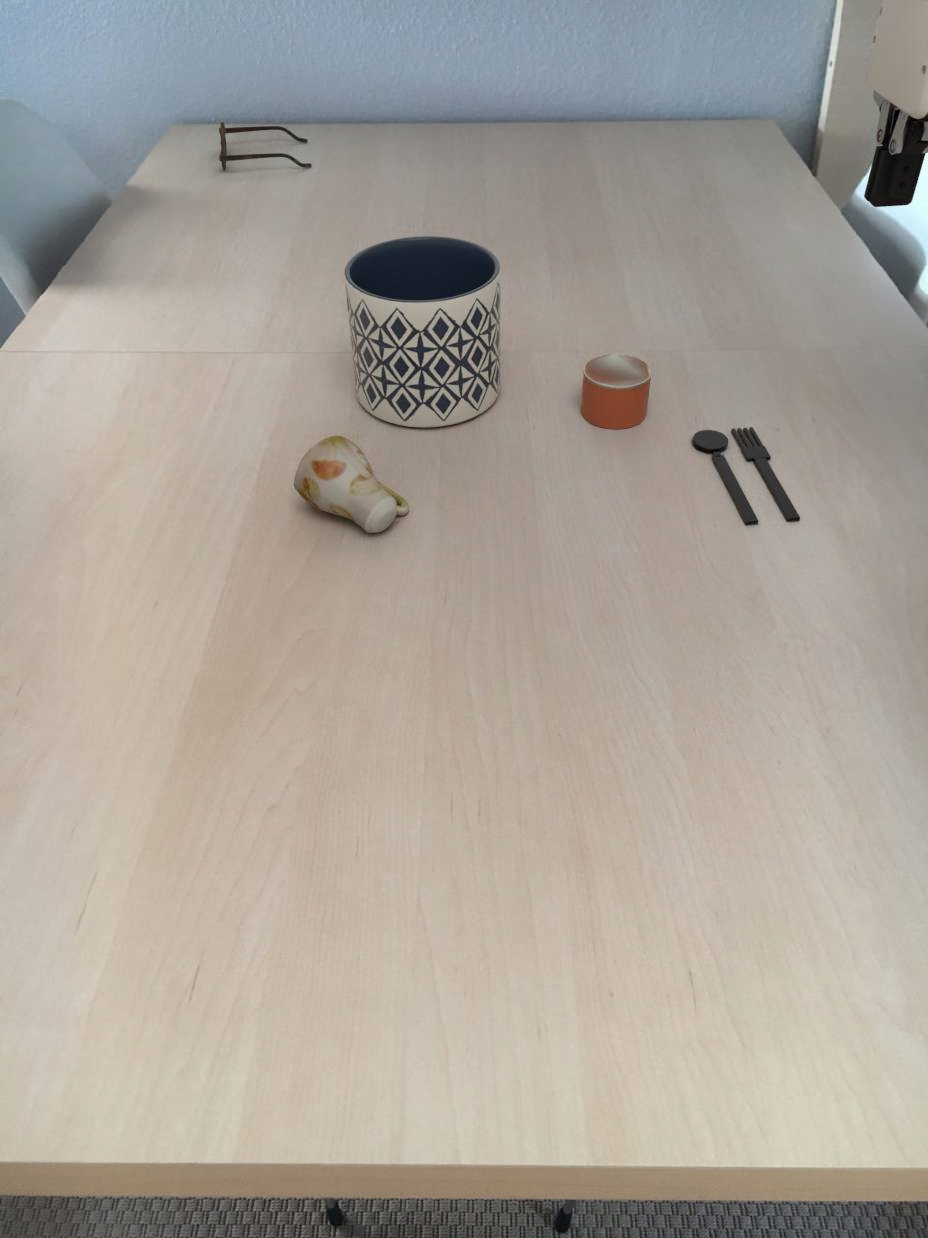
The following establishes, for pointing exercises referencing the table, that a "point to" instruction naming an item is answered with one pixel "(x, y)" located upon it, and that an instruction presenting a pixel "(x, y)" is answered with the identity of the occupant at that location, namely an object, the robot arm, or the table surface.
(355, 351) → the planter
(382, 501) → the mug
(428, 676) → the table surface
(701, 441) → the spoon
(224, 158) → the eyeglasses
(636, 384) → the orange cup
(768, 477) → the fork
